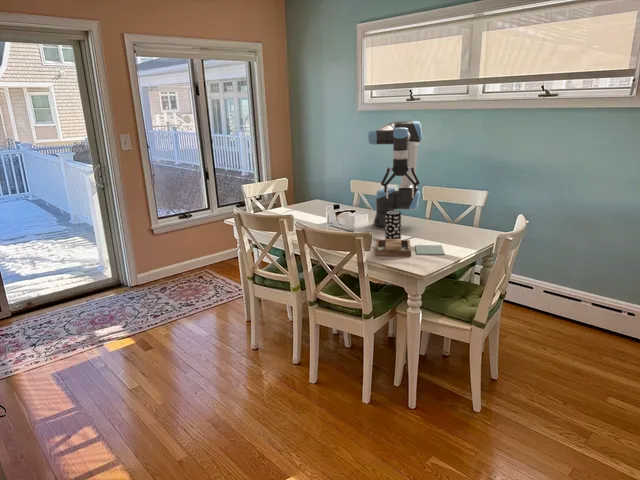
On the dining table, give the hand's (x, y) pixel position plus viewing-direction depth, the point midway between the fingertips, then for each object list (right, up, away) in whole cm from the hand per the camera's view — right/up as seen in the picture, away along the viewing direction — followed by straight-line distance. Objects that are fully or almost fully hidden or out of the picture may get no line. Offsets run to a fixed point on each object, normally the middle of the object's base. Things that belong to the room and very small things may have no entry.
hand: (399, 197), depth 239 cm
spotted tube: (-4, -27, +1) cm, 28 cm away
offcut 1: (-5, -25, -7) cm, 27 cm away
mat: (+15, -28, -4) cm, 32 cm away
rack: (-4, -28, -2) cm, 29 cm away
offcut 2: (-5, -28, -7) cm, 29 cm away
